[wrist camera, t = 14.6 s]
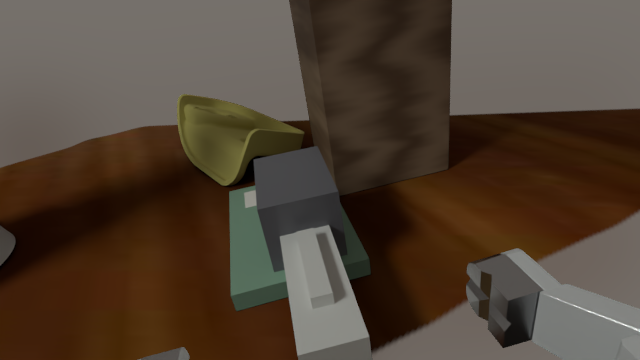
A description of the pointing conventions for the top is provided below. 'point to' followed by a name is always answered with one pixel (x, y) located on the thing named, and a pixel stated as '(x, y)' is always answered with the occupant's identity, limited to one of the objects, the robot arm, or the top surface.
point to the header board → (254, 260)
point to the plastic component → (230, 136)
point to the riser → (376, 86)
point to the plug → (310, 253)
